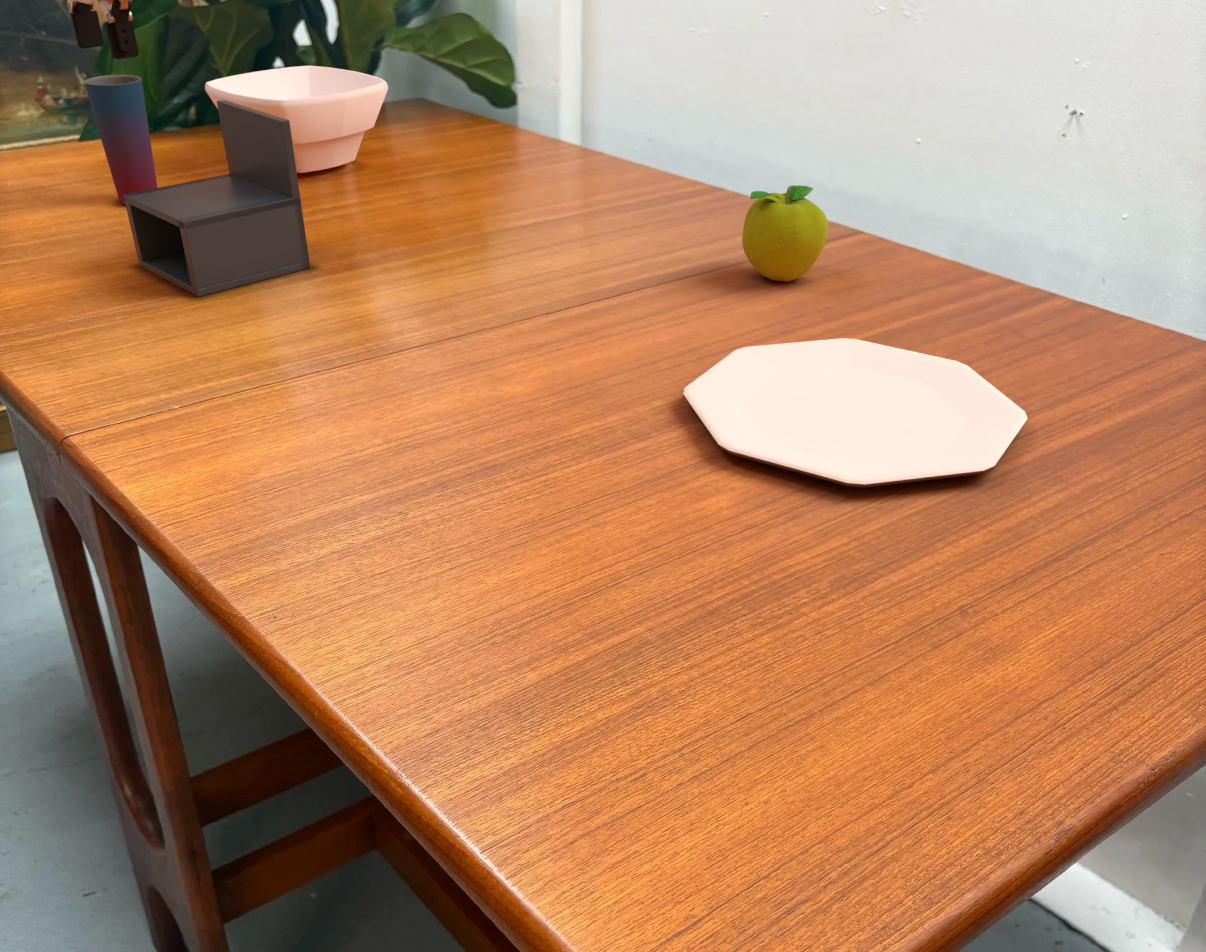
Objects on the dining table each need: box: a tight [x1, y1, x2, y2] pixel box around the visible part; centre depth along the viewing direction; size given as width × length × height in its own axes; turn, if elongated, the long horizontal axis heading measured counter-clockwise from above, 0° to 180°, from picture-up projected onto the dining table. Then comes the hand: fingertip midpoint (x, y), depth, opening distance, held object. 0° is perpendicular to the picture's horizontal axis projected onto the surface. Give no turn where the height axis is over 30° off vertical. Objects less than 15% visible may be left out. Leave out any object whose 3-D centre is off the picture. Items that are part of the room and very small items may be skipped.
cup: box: [83, 74, 159, 206], centre depth 148 cm, size 7×7×15 cm
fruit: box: [741, 185, 829, 283], centre depth 126 cm, size 9×9×10 cm
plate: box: [682, 337, 1028, 488], centre depth 99 cm, size 28×28×2 cm
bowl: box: [204, 65, 389, 174], centre depth 164 cm, size 22×22×12 cm
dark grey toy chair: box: [123, 100, 311, 297], centre depth 126 cm, size 14×14×16 cm
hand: (108, 52), depth 142 cm, fingers open, 9 cm apart
